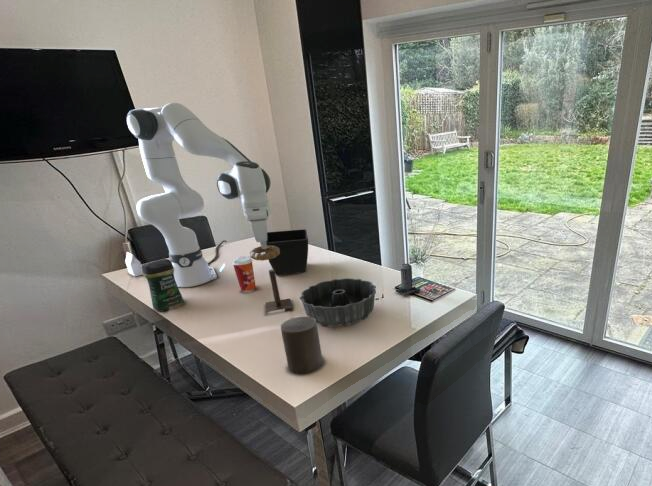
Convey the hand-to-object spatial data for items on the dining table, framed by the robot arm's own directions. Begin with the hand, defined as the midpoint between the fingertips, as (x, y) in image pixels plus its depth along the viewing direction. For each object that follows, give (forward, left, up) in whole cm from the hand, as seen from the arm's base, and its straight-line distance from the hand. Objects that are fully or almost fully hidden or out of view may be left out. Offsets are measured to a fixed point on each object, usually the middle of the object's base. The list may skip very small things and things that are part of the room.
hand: (264, 247), depth 149 cm
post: (+4, +1, -23) cm, 23 cm away
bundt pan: (+21, +22, -23) cm, 38 cm away
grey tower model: (+11, +50, -23) cm, 56 cm away
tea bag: (-62, -59, -23) cm, 89 cm away
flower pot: (-37, +8, -23) cm, 45 cm away
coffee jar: (-15, -38, -23) cm, 47 cm away
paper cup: (-19, -10, -23) cm, 32 cm away
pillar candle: (+48, +7, -23) cm, 54 cm away
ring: (+4, 0, -1) cm, 4 cm away
